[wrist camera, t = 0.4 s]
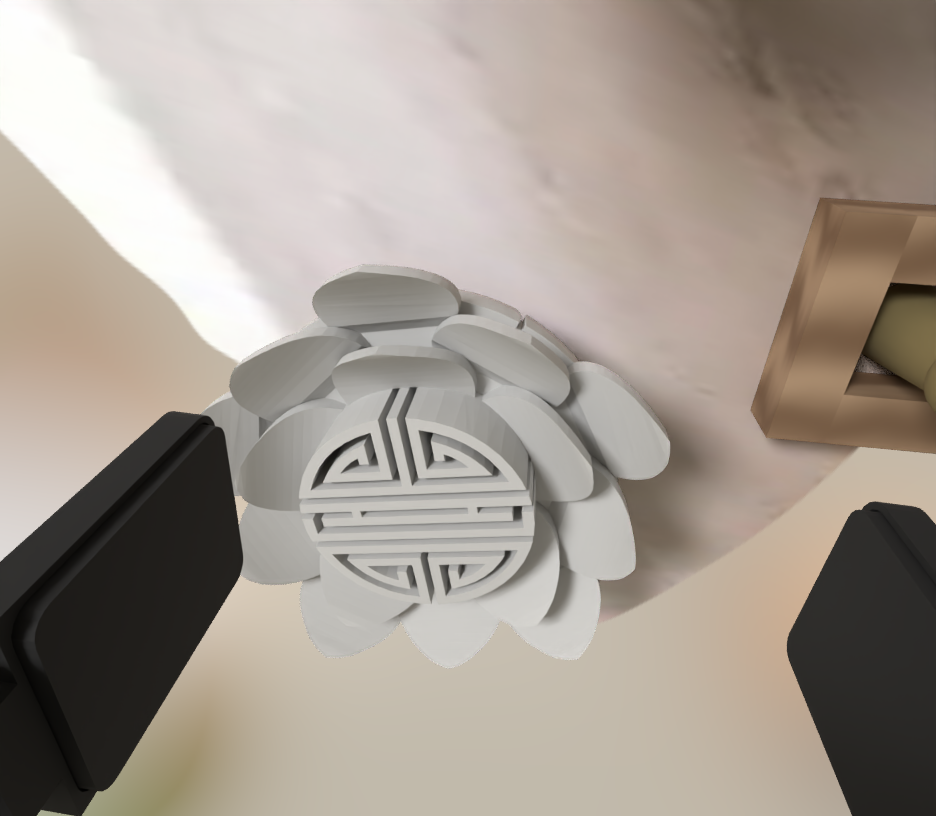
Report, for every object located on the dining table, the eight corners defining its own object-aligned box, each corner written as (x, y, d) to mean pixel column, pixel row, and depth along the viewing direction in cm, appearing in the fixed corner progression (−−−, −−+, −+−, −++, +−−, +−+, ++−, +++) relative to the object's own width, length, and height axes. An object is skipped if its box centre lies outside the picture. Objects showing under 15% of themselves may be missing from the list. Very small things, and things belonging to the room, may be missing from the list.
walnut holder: (820, 197, 39) (846, 211, 35) (1085, 214, 37) (1139, 230, 34) (750, 409, 47) (766, 437, 43) (966, 429, 46) (1000, 459, 42)
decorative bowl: (636, 179, 39) (678, 238, 27) (636, 525, 54) (664, 671, 41) (218, 231, 45) (84, 301, 32) (321, 534, 59) (257, 666, 46)
